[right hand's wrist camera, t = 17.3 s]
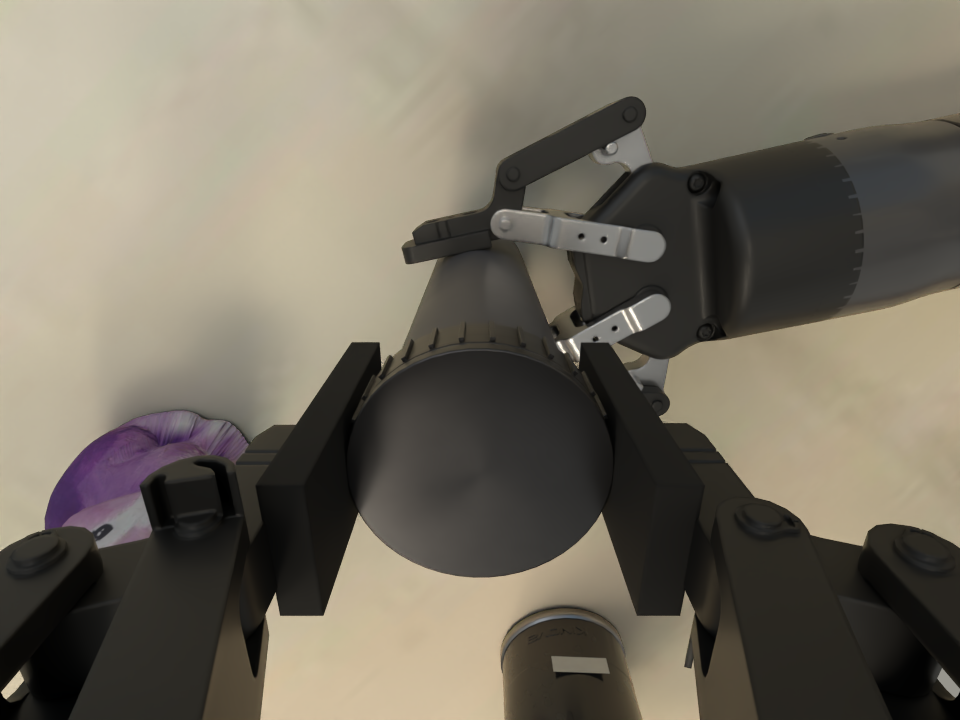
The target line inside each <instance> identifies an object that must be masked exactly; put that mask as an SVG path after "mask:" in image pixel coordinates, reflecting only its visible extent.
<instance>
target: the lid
mask: <svg viewBox="0 0 960 720" xmlns="http://www.w3.org/2000/svg"><path fill="white" fill-rule="evenodd" d="M606 419H608V416H607V414H606V412H605V410H604V408H603V405H602V403H601V401H600V399H599V397H598V395H597V393H595V391H594V389H593V386H592V384H591V382H590V380H589V378H588V376H587V374H586V373H585V371H583V372H580V371H579V369H578V368H577V367H576V365H575V364H574V363H573V360H572V358H571V356H570V354H569V353H568V352H566V353H565V354H564V353H563V352H561V351H560V350H559V349H557V348H556V347H555V346H553V345H552V344H550V342H549V339H548V338H547V337H545V336H544V337H543V339H541V338H540V337H538V336H536V335H533V334H531V333H528V332H526V331H523V327H521V326H518V327H517V328H512V327H508V326H504V325H496V324H495V323H494V321H489V324H487V323H484V324H466V322H465V321H462V322H460V325H457V326H451V327H448V328H444V329H440V330H438V328H437V327H436V328H433V329H432V333H429V334H427V335H425V336H422V337H420V338H419V339H417V340H415V341H413V340H412V339H410V340H408V341H407V344H406V346H405V347H404V348H403V349H402V350H400V351H399V352H398V353H396V354H395V355H394V356H393V357H392V356H391V355H389V356H388V357H387V359H386V361H385V363H384V365H383V367H382V369H381V371H380V372H379V374H378V375H377V376H375V375H373V376H372V377H371V379H370V381H369V383H368V385H367V387H366V390H365V392H364V394H363V396H362V398H361V401H360V403H359V405H358V407H357V409H356V411H355V413H354V415H353V417H352V419H351V422H350V423H352V424H353V426H352V429H351V432H350V435H349V438H348V443H347V449H346V470H347V478H348V486H349V490H350V493H351V497H352V499H353V501H354V503H355V506H356V508H357V510H358V512H359V513H360V515H361V517H362V518H363V520H364V521H365V523H366V524H367V526H368V527H369V528H370V529H371V530H372V532H373V533H374V534H375V535H376V536H377V537H378V538H379V539H380V540H381V541H382V542H383V543H385V544H386V545H387V546H388V547H389V548H391V549H392V550H394V551H395V552H396V553H398V554H399V555H401V556H403V557H404V558H406V559H408V560H410V561H412V562H414V563H416V564H418V565H421V566H423V567H425V568H428V569H431V570H434V571H438V572H441V573H445V574H450V575H455V576H464V577H496V576H505V575H510V574H515V573H519V572H523V571H526V570H529V569H532V568H535V567H538V566H540V565H542V564H544V563H546V562H549V561H551V560H552V559H554V558H556V557H557V556H559V555H561V554H562V553H564V552H565V551H567V550H568V549H569V548H571V547H572V546H573V545H575V544H576V543H577V542H578V541H579V540H580V539H581V538H582V537H583V536H584V535H585V534H586V533H587V532H588V531H589V529H590V528H591V527H592V526H593V524H594V523H595V522H596V520H597V519H598V517H599V515H600V514H601V512H602V510H603V509H604V506H605V504H606V501H607V499H608V497H609V494H610V490H611V486H612V481H613V472H614V447H613V443H612V438H611V434H610V431H609V429H608V426H607V423H606V421H605V420H606Z"/></svg>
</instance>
